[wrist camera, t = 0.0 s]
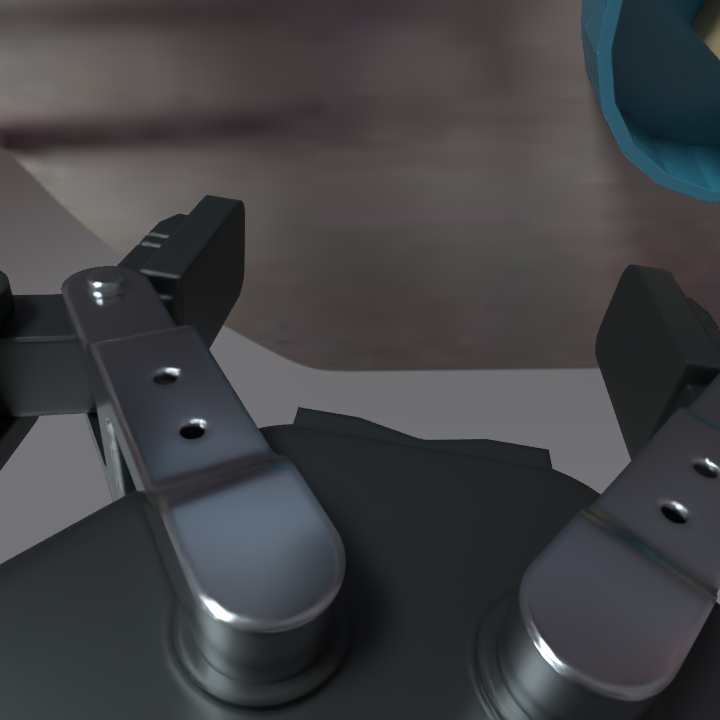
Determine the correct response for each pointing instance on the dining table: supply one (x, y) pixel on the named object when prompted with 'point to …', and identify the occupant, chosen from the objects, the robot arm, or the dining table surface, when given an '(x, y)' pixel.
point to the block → (709, 25)
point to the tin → (657, 89)
